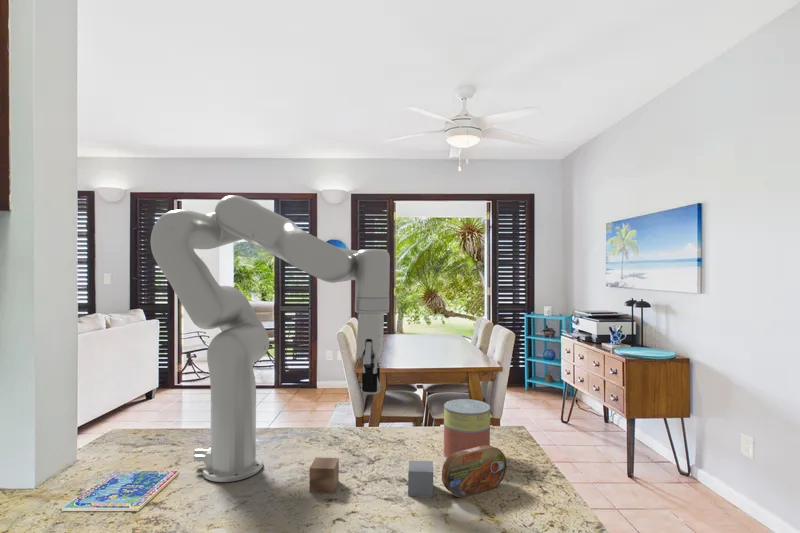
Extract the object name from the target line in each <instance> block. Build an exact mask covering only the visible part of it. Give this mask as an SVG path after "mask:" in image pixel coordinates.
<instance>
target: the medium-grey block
mask: <svg viewBox="0 0 800 533" xmlns="http://www.w3.org/2000/svg"><path fill="white" fill-rule="evenodd" d="M407 470H408V471H407V473H408V474H407V475H408V476H407V483H408V484H407V496H408V497H422V498H424V497H425V498H426V497H427V498H434V461H433V460H432V461H430V460H408V469H407Z"/></svg>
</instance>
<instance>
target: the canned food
mask: <svg viewBox="0 0 800 533" xmlns="http://www.w3.org/2000/svg"><path fill="white" fill-rule="evenodd" d="M483 445H489V446H491V405H490V404H488V403H486V402H485V401H481V400H477V399H470V398H469V399H468V398H458V399H457V398H455V399H450V400H448V401H446V402H444V403H443V453H442V454H443V457H444V458H445V459H447V458H448V457H449V456H450V455H451V454H453V453H455V452H458V451H462V450H467V449H471V448H475V447H479V446H483Z"/></svg>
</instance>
